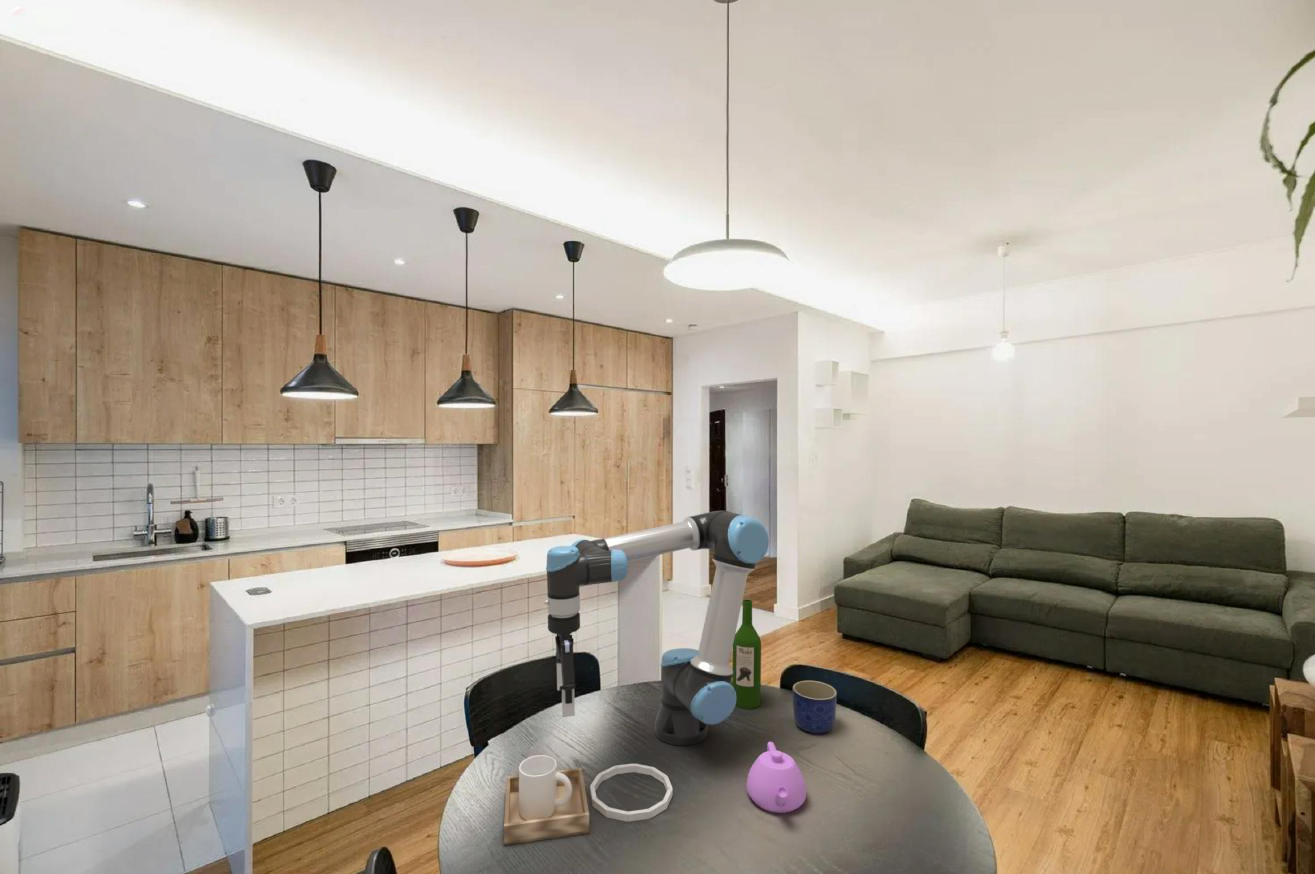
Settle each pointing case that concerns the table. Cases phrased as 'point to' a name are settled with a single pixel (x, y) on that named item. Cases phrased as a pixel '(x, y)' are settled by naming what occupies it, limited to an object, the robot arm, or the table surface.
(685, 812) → the table surface
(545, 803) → the mug
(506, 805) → the oak bin
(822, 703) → the planter
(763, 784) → the teapot
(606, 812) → the socket ring
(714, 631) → the robot arm
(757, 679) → the wine bottle
